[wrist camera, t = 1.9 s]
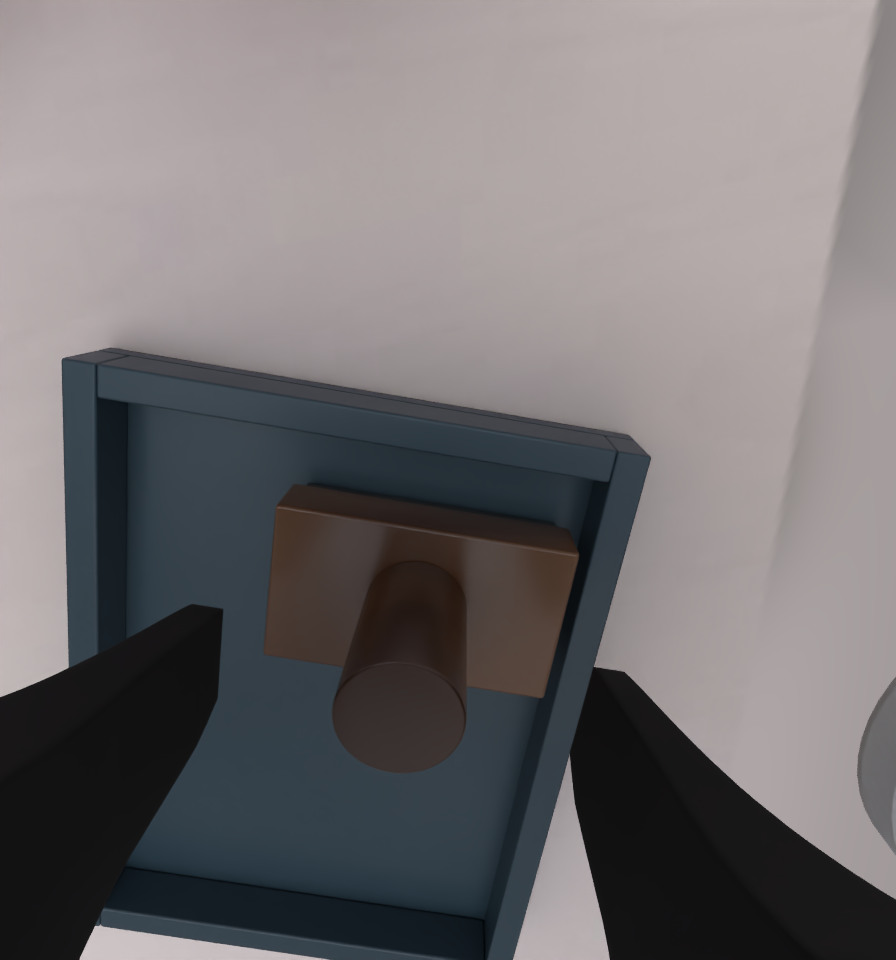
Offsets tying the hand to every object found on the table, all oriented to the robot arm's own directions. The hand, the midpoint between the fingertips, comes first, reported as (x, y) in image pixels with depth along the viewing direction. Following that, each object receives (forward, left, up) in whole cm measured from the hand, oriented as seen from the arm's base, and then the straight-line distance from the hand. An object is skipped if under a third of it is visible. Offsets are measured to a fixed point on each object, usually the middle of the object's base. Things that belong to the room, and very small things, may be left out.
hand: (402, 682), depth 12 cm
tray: (+2, +5, -6) cm, 8 cm away
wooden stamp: (0, 0, -5) cm, 5 cm away
